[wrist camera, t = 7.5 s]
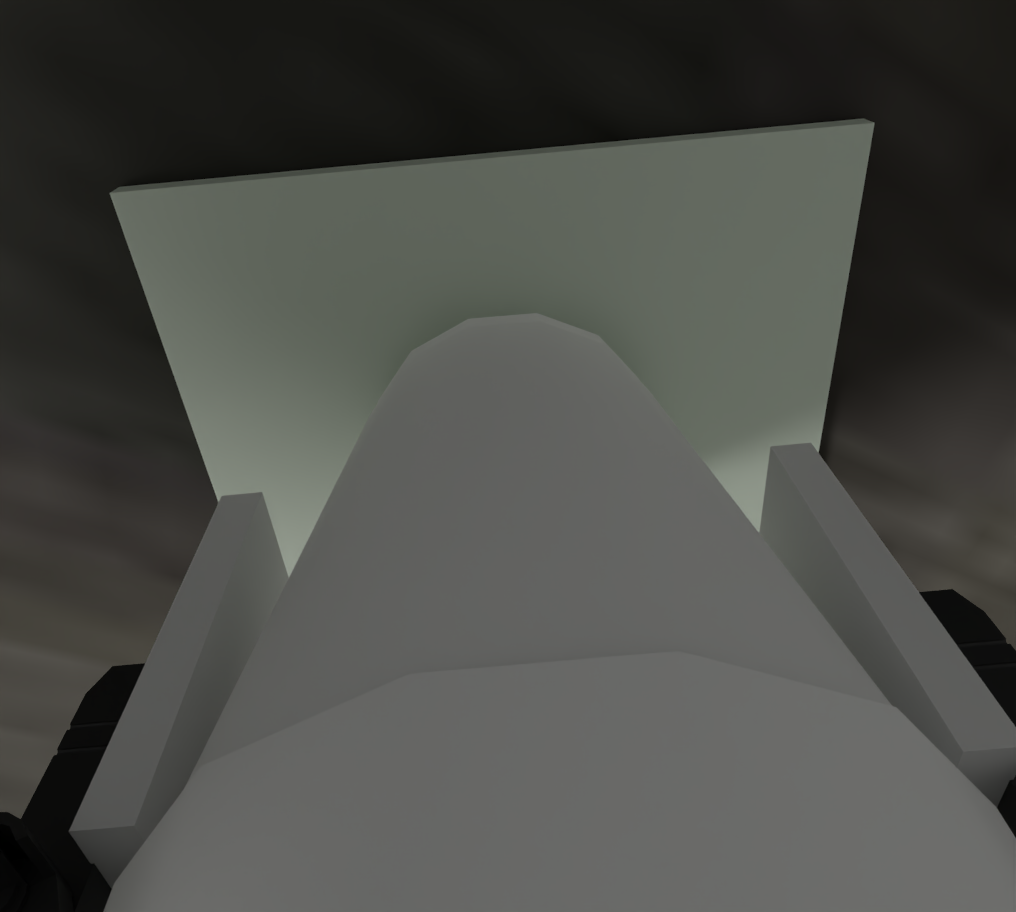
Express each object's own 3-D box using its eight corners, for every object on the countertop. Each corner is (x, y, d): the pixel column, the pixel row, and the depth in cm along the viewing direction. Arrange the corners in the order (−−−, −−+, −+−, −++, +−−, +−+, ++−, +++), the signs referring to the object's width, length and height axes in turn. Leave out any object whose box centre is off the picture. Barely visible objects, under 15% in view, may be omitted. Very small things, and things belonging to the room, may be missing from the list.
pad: (119, 186, 15) (109, 192, 15) (863, 118, 15) (874, 123, 15) (267, 617, 22) (263, 630, 21) (790, 570, 22) (796, 582, 21)
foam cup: (261, 537, 19) (-30, 1356, 8) (367, 166, 14) (24, 879, 3) (610, 628, 21) (770, 1360, 10) (799, 334, 16) (1475, 1086, 5)
